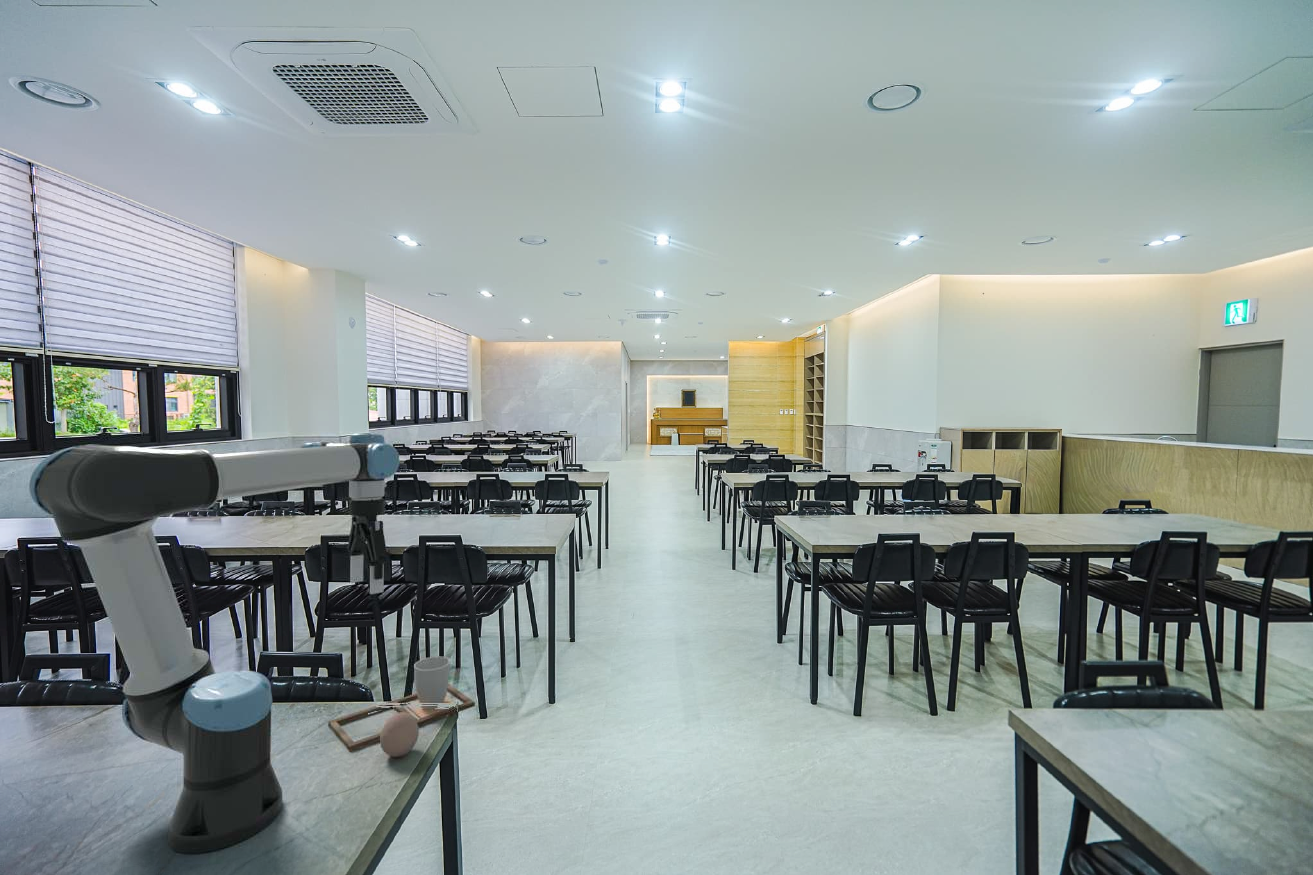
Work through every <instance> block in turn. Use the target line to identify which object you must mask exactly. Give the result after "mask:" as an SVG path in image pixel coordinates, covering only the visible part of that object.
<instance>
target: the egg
mask: <svg viewBox="0 0 1313 875" xmlns="http://www.w3.org/2000/svg"><path fill="white" fill-rule="evenodd" d="M419 732H420V731H419V726H418V725H417V722H416V721H415V719H414V718H413V717H412V716H411V715H410V714H408V713H405V712H401V713H397V712H396V713H394V714H393V715H392V716H390V717H389V718H388V719H387V720H386V722H385V723H384V725H383V727H382V729H381V731H380V733H381V735H380V741H379V743H380V748H381V750H382V751H383V752H384V753H385V754H386V755H387V756H389V757H392V758H399V757H402V756H405V755H407V754H408V753H410V752H411V751H412V750H413V748H414V747H415V746H416V744H417V742H418V739H419V735H420V733H419Z"/></svg>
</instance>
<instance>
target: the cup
mask: <svg viewBox="0 0 1313 875" xmlns="http://www.w3.org/2000/svg"><path fill="white" fill-rule="evenodd" d="M413 668H414V686H415V690H416V693H417V697H418V699H417V701H418V700H419V703H444V700H445V696H447V688H448V684H449V681H450V673H451V671H450V670H451V659H450V658H448V657H446V656H431V657H425V658H422V659H420V660H418V661H416V662H414V665H413ZM422 705H438V704H422ZM421 708H423V709H426V710H431V709H435V708H438V707H437V706H421Z"/></svg>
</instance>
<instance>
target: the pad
mask: <svg viewBox="0 0 1313 875" xmlns="http://www.w3.org/2000/svg"><path fill="white" fill-rule="evenodd" d="M451 702H455V701H454V700H453V699H451V698H450V697H449V696H447V695H446V696H445V700H444V703H451ZM411 703H419V700H418V699H417V700H414V701H411ZM452 707H454V706H452ZM452 707H450V708H452ZM417 708H421V707H407V709H409V710H410V711H411V712H412V713H413V712H414V713H413V714H415V715H416V716H417V717H418V719H421V718H424V717H426V716H429V715H432V714H435V713H438V712H441V711H443V710H446V709H431V710H426V709H422V708H421V709H417ZM445 708H449V707H445Z"/></svg>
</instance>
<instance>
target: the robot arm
mask: <svg viewBox="0 0 1313 875" xmlns="http://www.w3.org/2000/svg"><path fill="white" fill-rule="evenodd" d="M399 466H400V454H399V452H398V450H397V449H396V448H395V447H394V446H393V445H392V444H389V443H386V442H385V436H384V435H382V434H380V433H376V434H375V433H352V434H351V435H350V436H349V441H347V442H335V441H334V442H333V441H330V442H327V441H326V442H325V441H324V442H323V441H321V442H320V441H316V442H306V443H304V444H301V446H300V447H298V448H288V449H285V448H284V449H273V450H271V449H270V450H261V451H260V450H257V451H247V452H245V451H243V452H232V453H218V454H212V453H210V451H208V450H205V449H203V448H202V449H186V450H185V449H184V450H182V449H161V448H152V447H151V448H150V447H141V446H140V447H139V446H129V445H105V444H104V445H103V444H97V443H96V444H94V443H93V444H85V445H78V446H76V445H75V446H72V447H68V448H63V449H61V450H58V451H56V452H54V453H52V454H50V455H49V456H46V458H44V459H43V460H42V461H41V462H40V463H39V464H38V465H37V466H36V468H35V469H34V470H33V472H32V474H31V476H30V480H29V492H30V493H29V494H30V497H31V499H32V500H33V502H34V503H35V504H36V506H38V507H39V508H40V509H41V511H43V512H45V513H46V514H48V515H50V516H51V515H52V518H53V520H54V523H55V524H56V527H57V530H58V533H59V534H60V537H61V539H62V542H63V543H66V544H67V543H68V544H70V545H74V546H77V547H78V548H80V550H81V553H82V555H83V558H84V560H85V562H86V565H87V567H88V570H89V572H90V575H91V577H92V580H93V582H94V585H95V587H96V590H97V592H98V596H99V597H100V600H101V602H102V605H103V608H104V610H105V613H106V616H107V618H108V620H109V623H110V625H111V627H112V630H113V633H114V635H115V638H116V641H117V643H118V646H119V648H120V650H121V652H122V655H123V658H124V661H125V663H126V666H127V668H128V671H129V673H130V675H129V677H128V678H127V680H125V682H124V684H123V686H122V691H123V693H124V696H125V699H124V700H123V703H122V707H121V716H122V720H123V723H124V725H125V727H126V728H127V729H128V730H129V731H130V732H131V733H132V734H133V735H134V736H135V737H137V738H139V739H141V740H142V741H146V742H148V743H153V744H156V745H158V746H162V747H164V748H167V749H170V750H172V751H175V752H177V753H180V754H182V755H183V782H182V784H183V788H182V790H181V793H180V796H179V798H178V801H177V803H176V806H175V808H174V811H173V814H172V816H171V819H170V821H169V824H168V825H169V826H168V845H169V847H170V848H171V849H172V850H174V851H175V852H177V853H183V854H201V853H208V852H212V851H214V852H215V851H217V850H221V849H224V848H227V847H231V846H232V845H236V844H238V843H240V842H242V841H244V840H246V839H248V838H250V837H253V836H254V835H256V834H257V833H259V832H260V831H262V830H263V829H265V828H266V827H267V826H269V825H270V824H271V823H272V822H273V821H275V819H276V818H277V817H278V815H279V814H280V812H281V811H282V807H283V789H282V786H281V785H280V782H279V779H278V777H277V774H276V772H275V770H274V768H273V765H272V763H271V762H272V761H271V758H272V757H271V753H272V752H271V751H272V750H271V746H272V744H271V743H272V734H271V733H272V705H273V696H272V688H271V683H270V680H269V679H268V678H267V677H266V676H265V675H264V674H262V673H260V672H258V671H253V670H249V669H248V670H247V669H243V670H240V671H237V670H236V669H234V670H225V671H220V672H217V673H216V671H215V669H214V666H213V665H214V664H213V663H212V661H211V660H212V659H211V657H210V655H209V653H208V652H207V651H206V650H204V649H200V648H199V649H198V648H195V647H194V643H193V641H192V637H191V635H190V632H189V630H188V627H187V624H186V622H185V618H184V615H183V612H182V610H181V608H180V604H179V602H178V598H177V596H176V593H175V590H174V587H173V585H172V581H171V579H170V576H169V574H168V571H167V568H166V565H165V562H164V560H163V557H162V554H161V551H160V548H159V546H158V543H157V540H156V537H155V533H154V531H153V525H154V523H156V522H157V519H158V518H160V517H166V516H170V515H175V514H180V513H185V512H192V511H197V510H203V509H208V508H211V507H213V506H214V505H216V503H217V501H220V500H221V501H222V500H228V499H233V498H234V499H235V498H241V497H247V496H255V495H256V496H257V495H260V494H261V495H262V494H268V493H276V492H282V491H289V490H295V489H302V488H309V487H317V486H323V485H329V484H337V483H344V482H348V484H349V485H348V496H349V498H351V499H350V500H349V502H348V503H349V504H348V511H349V512H348V514H349V515H350V517H351V526H350V532H349V538H348V543H347V548H346V551H347V552H349V556H350V576H349V577H350V580H349V582H350V583H351V584H354V583H359V582H364V554H365V549H364V547H365V544H366V546H367V549H368V552H369V557H370V562H369V564H368V566H369V574H370V575H369V594H370V595H375V594H379V593H384V588H385V587H384V581H385V580H384V576H385V575H384V573H385V572H384V570H385V569H384V568H385V567H384V565H385V564H387V563H388V562H389V556H388V551H387V545H386V540H385V533H384V522H383V521H382V520H378V518H377V517H378V516H380V515H383V514H384V513H385V511H386V510H385V508H386V507H385V504H386V503H385V499H384V497H385V488H386V487H387V483H385V482H386V481H385V480H386V479H388V478H390V477H392V476H394V475H395V474H396V472H398V469H399Z"/></svg>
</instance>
